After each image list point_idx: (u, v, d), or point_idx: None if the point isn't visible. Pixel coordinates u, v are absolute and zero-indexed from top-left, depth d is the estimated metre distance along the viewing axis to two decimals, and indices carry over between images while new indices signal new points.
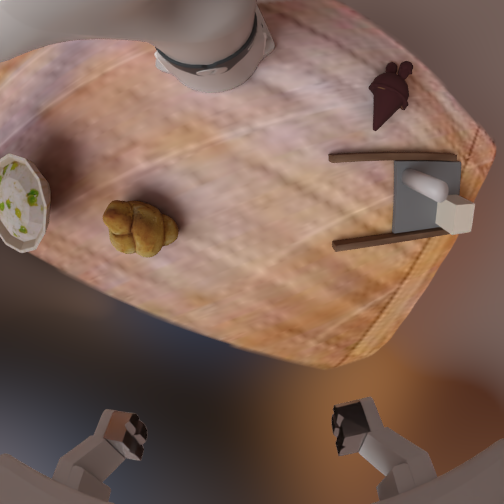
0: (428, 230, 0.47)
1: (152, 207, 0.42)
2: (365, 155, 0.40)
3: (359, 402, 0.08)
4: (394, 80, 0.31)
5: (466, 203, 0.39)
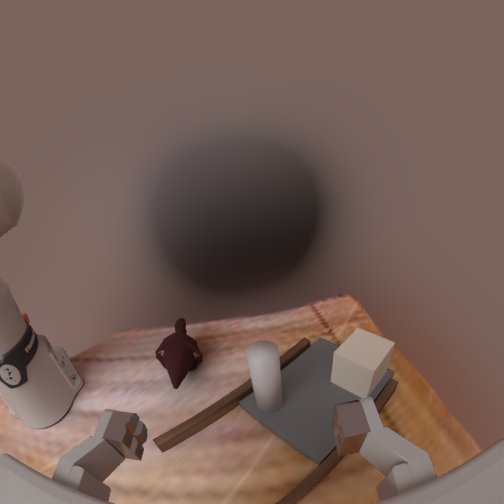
0: None
1: None
2: (191, 419, 0.29)
3: (359, 402, 0.08)
4: (167, 337, 0.40)
5: (348, 338, 0.33)
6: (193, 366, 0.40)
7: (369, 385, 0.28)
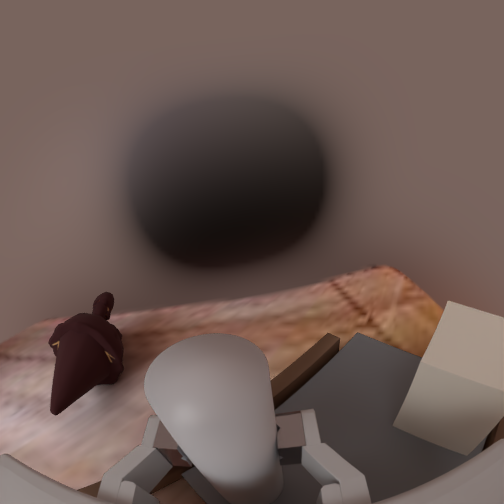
0: None
1: None
2: None
3: (299, 414, 0.08)
4: None
5: (438, 325, 0.12)
6: (110, 377, 0.19)
7: (491, 428, 0.07)
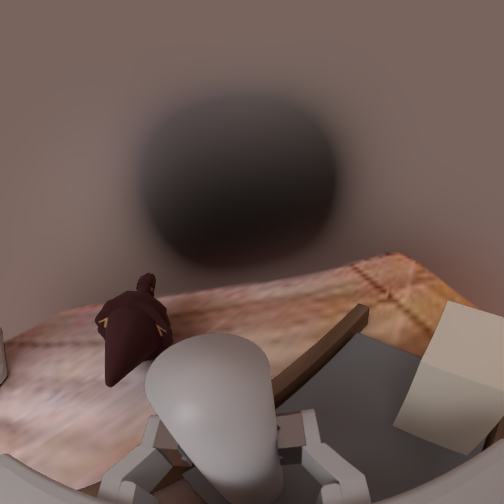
0: None
1: None
2: None
3: (299, 414, 0.08)
4: None
5: (438, 325, 0.12)
6: (158, 351, 0.22)
7: (491, 428, 0.07)
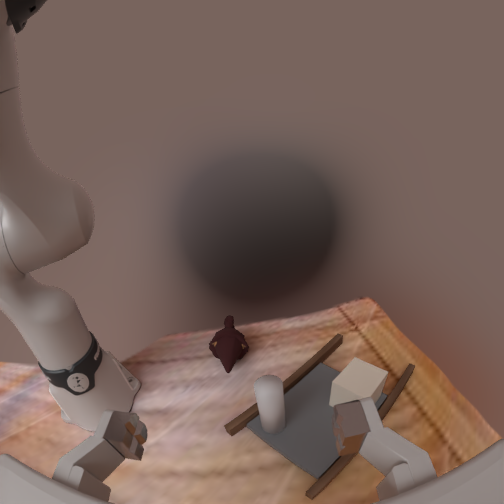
0: None
1: None
2: (255, 405, 0.37)
3: (359, 402, 0.08)
4: (219, 331, 0.50)
5: (345, 368, 0.35)
6: (240, 355, 0.49)
7: None
